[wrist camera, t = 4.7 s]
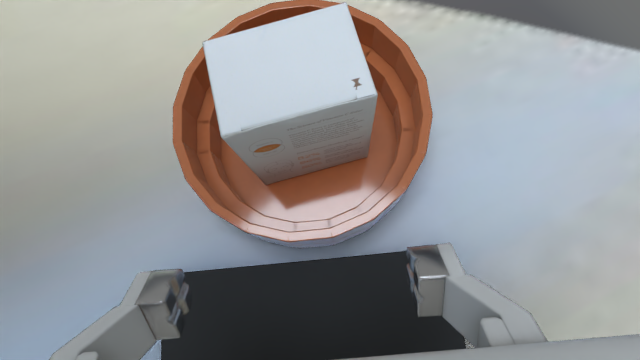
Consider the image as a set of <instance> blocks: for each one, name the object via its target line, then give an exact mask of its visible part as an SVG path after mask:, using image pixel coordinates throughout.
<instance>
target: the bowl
mask: <svg viewBox="0 0 640 360" xmlns="http://www.w3.org/2000/svg"><path fill="white" fill-rule="evenodd" d="M337 4H340V3H335V2H329V1H322V0H293V1H284V2H276V3H270V4H268V5H265V6H263V7H261V8H258V9H256V10H253V11H251V12H248V13H246V14H243V15H241V16H239V17H237V18H235V19H234V20H233V21H231V22H230V23H229V24H227V25H226V26H225V27H224V28H222V29H221V30H220V31H218V32H217V33H216V34H215V35H213V36H212V37H211V38H209V39H208V40H211V39H214V38H218V37H222V36H225V35H229V34H233V33H236V32H240V31H243V30H247V29H251V28H254V27H258V26H262V25H265V24H269V23H272V22H276V21H280V20H283V19H287V18H290V17H294V16H297V15H301V14H305V13H308V12H311V11H315V10H319V9H322V8H326V7H329V6H333V5H337ZM348 8H349V11H350V14H351V17H352V20H353V23H354V26H355V29H356V32H357V35H358V38H359V41H360V44H361V47H362V50H363V53H364V56H365V59H366V62H367V65H368V68H369V70H370V73H371V76H372V79H373V82H374V85H375V88H376V91H377V94H378V97H377V103H376V109H375V115H374V121H373V127H372V132H371V139H370V145H369V151H368V156H367V157H366V158H362V159H358V160H354V161H351V162H347V163H343V164H340V165H336V166H333V167H329V168H326V169H322V170H318V171H315V172H311V173H307V174H304V175H300V176H297V177H293V178H289V179H286V180H282V181H279V182H275V183H272V184H268V185H265V184H264V183H263V181H262V180H261V179H260V178H259V177H258V176H257V175H256V174H255V173H254V172H253V171H252V170H251V169H250V168H249V167H248V166H247V164H246V163H245V162H244V161H243V160H242V159H241V158H240V157H239V156H238V155H237V154H236V153H235V151H234V150H233V149H232V148H231V147H230V146H229V145H228V144H227V143H226V142H225V141H224V140H223V139H222V137H221V135H220V130H219V125H218V120H217V115H216V110H215V105H214V100H213V95H212V90H211V85H210V80H209V75H208V70H207V64H206V59H205V54H204V49H203V47H202V48H201V49H200V51H199V52H198V53H197V55H196V56H195V58H194V59H193V60H192V62H191V63H190V64H189V66H188V67H187V69H186V71H185V73H184V75H183V78H182V81H181V84H180V87H179V90H178V93H177V96H176V99H175V102H174V106H173V145H174V148H175V151H176V154H177V157H178V159H179V162H180V165H181V168H182V171H183V174H184V177H185V179H186V181H187V182H188V183H189V185H190V186H191V187H192V188H193V190H194V191H195V192H196V193H197V195H198V196H199V197H200V198H201V200H202V201H203V202H204V203H205V205H206V206H207V207H208V208H209V210H211V211H212V212H213V213H215V214H216V215H218V216H220V217H221V218H223V219H225V220H226V221H228V222H229V223H231V224H233V225H234V226H236V227H237V228H239V229H241V230H242V231H244V232H246V233H248V234H250V235H253V236H255V237H257V238H259V239H262V240H264V241H268V242H272V243H276V244H281V245H285V246H290V247H294V248H299V249H300V248H310V247H320V246H331V245H335V244H338V243H341V242H343V241H345V240H347V239H350V238H352V237H354V236H357V235H359V234H361V233H363V232H366V231H367V230H369V229H370V228H371V227H373V226H374V225H375V224H376V223H377V222H378V221H379V220H380V219H381V218H383V217H384V216H385V215H386V214H387V213H388V212H389V211H390V210H391V209H392V208H394V207H395V205H396V204H397V202H398V201H399V200H400V198H401V197H402V195H403V194H404V193H405V191H406V190H407V188H408V186H409V184H410V183H411V181H412V179H413V177H414V175H415V174H416V172H417V170H418V168H419V166H420V165H421V163H422V161H423V159H424V157H425V155H426V152H427V146H428V140H429V134H430V128H431V123H432V117H433V116H432V108H431V103H430V97H429V91H428V86H427V80H426V77H425V75H424V73H423V71H422V70H421V68H420V66H419V64H418V62H417V61H416V59H415V57H414V55H413V54H412V52H411V50H410V48H409V46H408V45H407V44H406V43H405V42H404V41H403V40H402V39H401V38H400V37H398V36H397V35H396V34H395V33H394V32H393V31H392V30H391V29H390V28H388V27H387V26H386V25H385V24H384V23H383V22H382V21H381V20H379V19H377V18H375V17H373V16H371V15H369V14H366V13H364V12H362V11H360V10H358V9H356V8H353V7H351V6H349V5H348Z"/></svg>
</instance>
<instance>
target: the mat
mask: <svg viewBox="0 0 640 360" xmlns="http://www.w3.org/2000/svg"><path fill="white" fill-rule="evenodd" d="M408 263H409V262H408V259H407V251H404V252H394V253H383V254H373V255H362V256H352V257H341V258H331V259H320V260H310V261H299V262H289V263H278V264H268V265H258V266H247V267H237V268H226V269H216V270H205V271H195V272H184V274H185V276H186V277H185V279H184V282H185V283H186V284H188V285H189V287H190V289H191V294H192V301H191V307H190V310H189V312H188V313H187V314H186V315H185V316H184V319H185V325H184V328H183V331H182V334H181V336H180V338H173V339H164V340H162V342H161V360H336V359H348V358H361V357H373V356H385V355H397V354H408V353H420V352H432V351H444V350H456V349H466V346H465V340H464V337H463V336H462V335H461V334H460V333H459V332H458V331H457V330H456V329H455V328H454V327H453V326H452V325H451V324H450V323H449V322H448V321H447V320H446V319H444V318H443V316H426V317H418V316H417V313H416V310H415V306H414V303H413V293H411V292H410V289H409V286H408V281H407V269H406V265H407V264H408Z"/></svg>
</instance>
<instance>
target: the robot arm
mask: <svg viewBox="0 0 640 360" xmlns="http://www.w3.org/2000/svg"><path fill="white" fill-rule="evenodd" d="M407 259H408V262H409V263H408V264H407V265H406V269H407V281H408V286H409V289H410V292H411V293H413V303H414V306H415V310H416V313H417V316H418V317H426V316H443V318H444V319H446V320H447V321H448V322H449V323H450V324H451V325H452V326H453V327H454V328H455V329H456V330H457V331H458V332H459V333H460V334H461V335H462V336H463V337H465V338H466V339H467V340H468V341H469V342H470V343H471V344H472V345H473V346H474V347H475V348H468V349H456V350H444V351H432V352H420V353H408V354H397V355H385V356H373V357H361V358H348V359H336V360H640V334H636V335H624V336H612V337H600V338H588V339H576V340H564V341H552V342H548V341H547V339H546V337H545V336H544V334H543V332H542V331H541V329H540V327H539V326H538V324H537V322H536V321H535V319H534V318H533V316H532V314H531V313H530V312H528V311H527V310H525V309H524V308H522V307H521V306H519V305H517V304H516V303H514V302H513V301H511V300H510V299H508V298H507V297H505V296H503V295H502V294H500V293H499V292H497V291H496V290H494V289H492V288H491V287H489V286H488V285H486V284H485V283H483V282H482V281H480V280H478V279H477V278H475V277H474V276H472V275H466V273H465V271H464V269H463V267H462V265H461V263H460V261H459V259H458V256H457V254H456V252H455V250H454V248H453V246H452V244H451V243H442V244H435V245H425V246H415V247H407ZM185 277H186V276H185V274H184V272H183V270H182V269H169V270H155V271H144V272H139V273H138V274H137V275H136V276H135V278H134V280H133V282H132V284H131V286H130V287H129V289H128V291H127V293H126V295H125V296H124V298H123V300H122V302H121V304H120V306H118V307H114V308H113V309H111V310H110V311H109V312H107V313H106V314H105V315H103V316H102V317H101V318H99V319H98V320H97V321H96V322H94V323H93V324H92V325H90V326H89V327H88V328H86V329H85V330H84V331H82V332H81V333H80V334H78V335H77V336H76V337H74V338H73V339H72V340H70V341H69V342H68V343H66V344H65V345H64V346H62V347H61V348H60V349H58V350H57V351H56V352H54V353H53V354H52V356H51V357H50V359H49V360H140V359H141V358H142V357H143V356H144V355H145V354H146V353H147V352H148V350H149V349H150V348H151V347H152V346H153V345H154V344H155V343H156V340H164V339H173V338H180V336H181V334H182V331H183V328H184V325H185V319H184V316H185V315H186V314H187V313H188V312H189V310H190V307H191V301H192V294H191V289H190V287H189V285H188V284H186V283H185V282H184V279H185Z"/></svg>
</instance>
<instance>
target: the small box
mask: <svg viewBox="0 0 640 360" xmlns="http://www.w3.org/2000/svg"><path fill="white" fill-rule="evenodd" d="M203 49H204V54H205V59H206V64H207V70H208V75H209V80H210V85H211V90H212V95H213V100H214V105H215V110H216V115H217V120H218V125H219V130H220V135H221V137H222V139H223V140H224V141H225V142H226V143H227V144H228V145H229V146H230V147H231V148H232V149H233V150H234V151H235V153H236V154H237V155H238V156H239V157H240V158H241V159H242V160H243V161H244V162H245V163H246V164H247V166H248V167H249V168H250V169H251V170H252V171H253V172H254V173H255V174H256V175H257V176H258V177H259V178H260V179H261V180H262V181H263V183H264V184H265V185H268V184H272V183H275V182H279V181H282V180H286V179H289V178H293V177H297V176H300V175H304V174H307V173H311V172H315V171H318V170H322V169H326V168H329V167H333V166H336V165H340V164H343V163H347V162H351V161H354V160H358V159H362V158H366V157H367V156H368V151H369V145H370V139H371V132H372V127H373V121H374V115H375V109H376V103H377V97H378V94H377V91H376V88H375V85H374V82H373V79H372V76H371V73H370V70H369V68H368V65H367V62H366V59H365V56H364V53H363V50H362V47H361V44H360V41H359V38H358V35H357V32H356V29H355V26H354V23H353V20H352V17H351V14H350V11H349V8H348V5H347V3H346V2H343V3H340V4H337V5H333V6H329V7H326V8H322V9H319V10H315V11H311V12H308V13H305V14H301V15H297V16H294V17H290V18H287V19H283V20H280V21H276V22H272V23H269V24H265V25H262V26H258V27H254V28H251V29H247V30H243V31H240V32H236V33H233V34H229V35H225V36H222V37H218V38H214V39H211V40H207V41H203Z"/></svg>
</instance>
